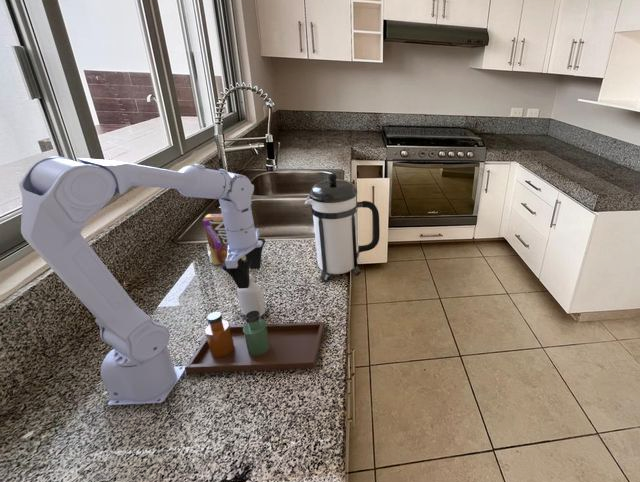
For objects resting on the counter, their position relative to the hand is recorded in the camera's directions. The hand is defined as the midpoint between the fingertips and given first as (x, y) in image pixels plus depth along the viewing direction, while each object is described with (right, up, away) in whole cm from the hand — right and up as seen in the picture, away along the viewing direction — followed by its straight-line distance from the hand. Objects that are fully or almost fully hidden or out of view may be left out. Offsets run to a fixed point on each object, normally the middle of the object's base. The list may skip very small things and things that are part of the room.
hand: (249, 277), depth 80 cm
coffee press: (+17, -2, +24) cm, 29 cm away
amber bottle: (-2, -14, -8) cm, 16 cm away
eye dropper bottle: (-1, -10, +4) cm, 11 cm away
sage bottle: (+6, -14, -7) cm, 16 cm away
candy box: (-19, -1, +26) cm, 32 cm away
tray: (+6, -14, -7) cm, 17 cm away
